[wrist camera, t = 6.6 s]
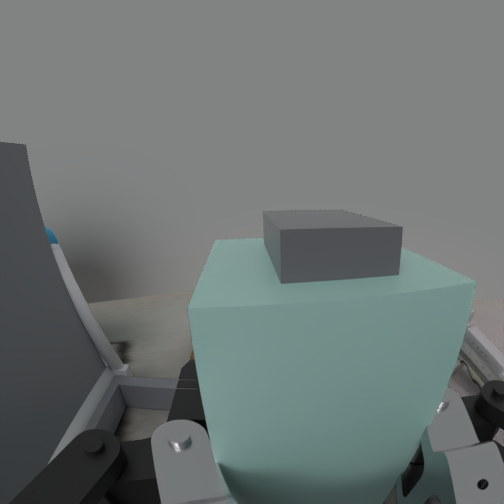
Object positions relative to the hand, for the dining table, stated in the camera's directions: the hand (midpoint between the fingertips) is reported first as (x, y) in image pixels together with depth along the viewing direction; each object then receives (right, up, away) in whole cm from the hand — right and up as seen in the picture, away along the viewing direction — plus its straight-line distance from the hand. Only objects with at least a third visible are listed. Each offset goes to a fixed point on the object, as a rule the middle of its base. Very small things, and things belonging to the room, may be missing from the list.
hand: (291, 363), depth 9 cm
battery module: (0, -8, -1) cm, 8 cm away
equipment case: (-4, -8, -1) cm, 9 cm away
